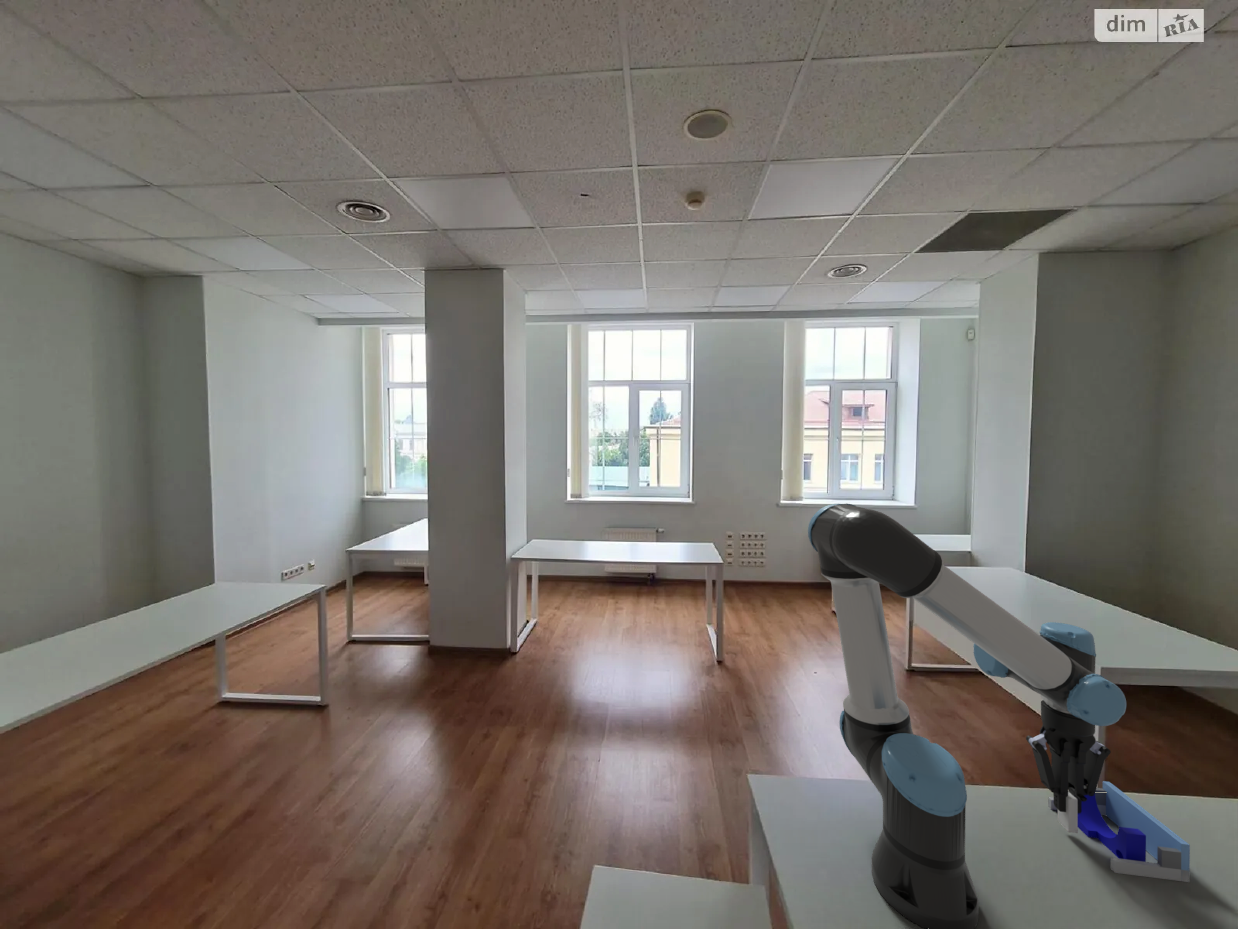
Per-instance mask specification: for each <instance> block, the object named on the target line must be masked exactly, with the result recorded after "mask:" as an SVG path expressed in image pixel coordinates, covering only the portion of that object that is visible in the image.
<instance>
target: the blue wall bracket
mask: <svg viewBox="0 0 1238 929" xmlns="http://www.w3.org/2000/svg"><path fill="white" fill-rule="evenodd" d="M1095 792H1107V793H1095V798H1096V803H1097V806H1098V809H1099V811H1100V813H1101V815H1102V816H1106V817H1108V819H1110V820H1111V821H1112V822H1113V823H1114V824H1115V825H1116V826H1117V827H1118V828H1119V827H1126V828H1135V829H1139V830H1140V831H1141V832H1142V833H1144V834H1145V835H1146V853H1148V854H1149V855H1150V856H1152V857H1153V858H1154V859H1155V860H1157V861H1156V862H1149V861H1146V862H1143V861H1135V860H1127V859H1119V858H1118V857H1110V869H1111V870H1112V872H1114V873H1115V874H1121V875H1122V874H1124V875H1130V876H1131V875H1132V876H1137V877H1147V878H1154V879H1160V880H1161V879H1163V880H1169V881H1177V882H1178V881H1179V882H1183V883H1184V882H1185V883H1190V876H1191V875H1190V870H1191V869H1190V866H1191V865H1190V863H1191V862H1190V861H1191V860H1190V857H1191V855H1190V854H1191V852H1190V850H1191V847H1190V846H1191V845H1190V844H1189V843H1188V842H1187V841H1186V840H1184V839H1183V838H1181V836H1179V835H1177V834H1176V832H1174V831H1172V830H1171V829H1170V828H1169V827H1168V826H1166V825H1165V824H1164V823H1163V822H1161V821H1160V820H1158V818H1156V817H1155V816H1153V814H1151V813H1150V812H1149V811H1147V810H1146V809H1145V808H1143V806H1141V805H1139V804H1138V803H1137V802H1136V801H1135V800H1134V799H1132V798H1131V797H1129V796H1128V795H1127V794H1126V793H1125V792H1124V791H1122V790H1121V789H1119V788H1118V787H1117V786H1116V785H1114V784H1113V783H1111V782H1110V781H1105V780H1103V781H1102V787H1101V788H1100V787H1097V788H1096V791H1095ZM1047 807H1048V808H1049V809H1050V810H1054V811H1055V810H1056V811H1058V809H1057V808H1056V807H1055V806H1054V796H1051V797H1050V796H1048V798H1047Z"/></svg>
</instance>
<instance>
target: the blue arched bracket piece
mask: <svg viewBox="0 0 1238 929" xmlns="http://www.w3.org/2000/svg"><path fill="white" fill-rule="evenodd" d="M1084 797H1086V798H1087V801H1085V802H1083V801H1082V811H1081V813H1078V829H1079V830H1080V831H1081V832H1082V833H1083V834H1084V835H1085V836H1086V837H1087V838H1092V839H1097V840H1098V841H1099V842H1100V843H1101V844H1103V845H1104V846H1105V847H1106V848H1107V849H1108V850H1109V851H1110V852H1111V853H1112V854H1113V855H1114V856H1116V858H1119V859H1127V860H1135V861H1143V862H1147V859H1146V858H1147V851H1146V835H1145V834H1144V833H1142V832H1141V831H1140V830H1139V829H1135V828H1126V827H1119V826H1118V831H1117V833H1116V832H1114V831H1113V829H1112V828H1111V827H1110V826H1109V825H1108V823H1107V822H1106V820H1105V819H1104V818H1103V815H1101V813H1100V811H1099V809H1098V806H1097V803H1096V798H1095V795H1094V796H1089V795H1085V796H1084Z"/></svg>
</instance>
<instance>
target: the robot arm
mask: <svg viewBox="0 0 1238 929" xmlns="http://www.w3.org/2000/svg"><path fill="white" fill-rule="evenodd" d="M807 537H808V540H809V543H810V545H811V546H812V548H813V549H814V551H815V552H817V555H818V561H819V567H820V572H821V573H820V574H821V576H823V577H824V578H825V579H827V580H828V581H830V584H831V585H830V586H831V590H832V598H833V605H834V607H835V608H834V609H835V614H836V619H837V620H836V621H837V627H838V633H839V639H840V640H839V641H840V647H841V652H842V659H843V665H844V670H845V676H846V681H847V689H848V695H846V697H844V699H843V700H842V701H843V702H842V707H843V710H842V711H841V713H840V715H839V716H840V717H839V722H838V723H839V731H840V734H841V737H842V739H843V742H844V745H845V746H846V748H847V750H848V751H849V752H850V754H851V755H852V756H853V757H854V758H855V760H856V762H857V763H858V764H859V766H860V767H861V769H862V770H863V771H864V773H865V774H866V775H867V777H868V778H869V780H870V781H871V783H873V785H874V787H875V788H876V790H877V791H878V792H879V794H880V796H881V798H882V829H881V832H880V834H879V837H878V838H877V841H876V844H875V846H874V849H873V851H872V853H871V876H872V880H873V882H874V885H875V886H876V889H878V892H879V893H880V895H881V896H882V897H883V898H884V900H885V901H886V902H887V903H888V904H889V905H890V906H891V907H892V908H893V909H894V910H895V911H896V912H898V913H899V915H901V916H903V917H904V918H906V919H907V920H909V921H910V922H912V923H914V924H916V925H918V926H920V927H921V928H924V929H926V928H929V929H975V928H976V927H977V926H978V923H979V920H980V918H979V917H980V915H979V914H980V913H979V912H980V909H979V908H980V905H979V904H980V903H979V897H978V894H977V891H976V888H975V885H974V882H973V879H972V877H971V873H970V870H969V868H968V865H967V862H966V806H967V805H966V804H967V799H968V794H967V789H966V782H965V775H964V772H963V769H962V767H961V765H960V764H959V762H958V761H957V760H956V758H955V757H954V756H953V755H952V754H951V753H950V752H949V751H948V750H947V749H945V748H944V747H943V746H941V745H940V744H938V743H937V742H931V741H930V740H929V739H928V738H926V737H923V736H921V735H917V734H914V732H913V728H912V720H911V716H910V710H909V707H908V705H907V703H906V702H905V701H904V700H902V699H901V698H899V697H898V691H897V685H896V679H895V674H894V667H893V666H894V665H893V661H892V654H891V648H890V641H889V636H888V631H887V624H886V617H885V612H884V611H885V610H884V605H883V599H882V594H881V593H882V592H881V588H880V587H881V586H880V584H881V585H883V586H885V587H886V588H887V589H888V590H891V591H893V592H894V593H895V594H896V595H898V596H899V597H900V598H904V599H913V600H914V601H916V602H917V603H918V604H920V605H921V606H922V607H924V608H925V609H927V610H928V611H929V612H931V613H932V614H934V615H935V616H937V618H939V619H941V620H942V621H943V622H944V623H946V624H947V625H949V626H950V627H951V628H953V629H954V630H955V631H957V632H958V633H959V634H961V635H963V636H964V637H965V638H966V639H967V640H969V641H971V642H972V643H973V656H974V660H975V662H976V665H978V667H979V669H980V670H981V671H982V672H983V673H985V674H986V675H988V676H991V677H997V678H998V677H999V678H1003V679H1004V678H1011V679H1013V680H1014V681H1017V682H1018V683H1020V684H1021V685H1023V686H1025V687H1027V688H1028V689H1029V690H1032V691H1033V692H1036V693H1037V694H1039V695H1040V699H1042V700H1040V718H1041V719H1040V720H1041V723H1042V726H1041V728H1040V729H1039V734H1038V735H1036V736H1034V737H1033V736H1032V735H1026V737H1025V739H1026V741H1027V743H1028V745H1030V747H1031V748H1032V749H1031V750H1032V752H1033V757H1034V760H1035V763H1036V767H1037V771H1038V775H1039V778H1040V782H1041V784H1043V785H1044V786H1045V788H1047V789H1048V790H1049V791H1050V792H1051V793H1053V798H1054V806H1055V807H1056V808H1057V809H1058V810H1057V822H1058V823H1059V824H1060V825H1061V827H1063V828H1064V830H1066V831H1067V832H1068V833H1073V834H1078V829H1079V828H1078V813H1081V811H1082V801H1083V802H1085V801H1087V798H1086V797H1084V796H1085V795H1089V796H1094V795H1095V791H1096V788H1098V784H1099V780H1100V777H1101V773H1102V770H1103V767H1104V763H1105V760H1106V759H1107V758H1108V757H1109V755H1110V754H1111V749H1109V748H1108V747H1107V746H1105V745H1104V744H1102V743H1101V742H1099V741H1098V740H1096V739H1097V738H1096V736H1095V734H1096V726H1099V727H1107V726H1111V725H1114V724H1116V723H1117V722H1118V721H1120V719H1121V718H1122V716H1124V715H1125V713H1126V710H1127V700H1126V696H1125V693H1124V692H1123V691H1122V689H1121V688H1120V687H1119V686H1118V685H1116V684H1115V683H1114V682H1112V681H1110V680H1108V679H1106V678H1105V677H1104V676H1102V675H1101V674H1098V673H1096V657H1097V654H1096V645H1095V644H1096V643H1095V638H1094V636H1093V634H1092V633H1091V632H1090V631H1089V630H1087V629H1086V628H1085V629H1084V628H1083V627H1080V626H1076V625H1073V624H1068V623H1062V622H1056V621H1055V622H1054V621H1052V622H1051V621H1050V622H1045V623H1043V624H1041V625H1040V630H1039V633H1038V632H1037V631H1035V630H1033V629H1032V628H1030V627H1029V626H1028V625H1027V624H1025V623H1023V622H1022V621H1021V620H1019V619H1018V618H1017V617H1015V616H1014V615H1013V614H1011V613H1010V612H1009V611H1008V610H1006V609H1005V608H1003V607H1002V606H1001V605H999V604H998V603H996V602H995V601H994V600H993V599H991V598H989V597H988V596H987V595H985V594H984V593H983V592H982V591H980V590H979V589H977V588H976V587H975V586H973V585H972V584H971V583H969V582H968V581H967V580H965V579H964V578H962V577H961V576H959V575H958V574H957V573H956V572H954V571H953V570H952V569H950V568H948V567H947V566H946V565H944V563H945V562H944V558H943V557H942V555H941V554H940V553H939V552H938V551H936V550H935V549H933V548H932V547H930V546H929V545H928V544H926V543H925V542H924V541H923V540H921V539H920V538H919V537H918V536H916V534H914V533H913V532H911V531H910V530H909V529H907V528H906V527H905V526H903V525H902V524H900V523H899V522H898V521H897V520H895V519H894V518H892V517H890V516H889V515H887V514H885V513H884V512H881V511H879V510H874V509H870V508H864V507H860V506H856V505H855V504H850V503H832V504H829V505H826V506H823V507H821V508H820V509H818V510H817V511H816V512H815V513H814V515H813V516H812V517H811V518H810V521H809V523H808V526H807ZM1046 744H1047V745H1048V746H1049V753H1050V754H1051V760H1050V757H1049V754H1048V752H1047V750H1048V748H1047V745H1046Z"/></svg>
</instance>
